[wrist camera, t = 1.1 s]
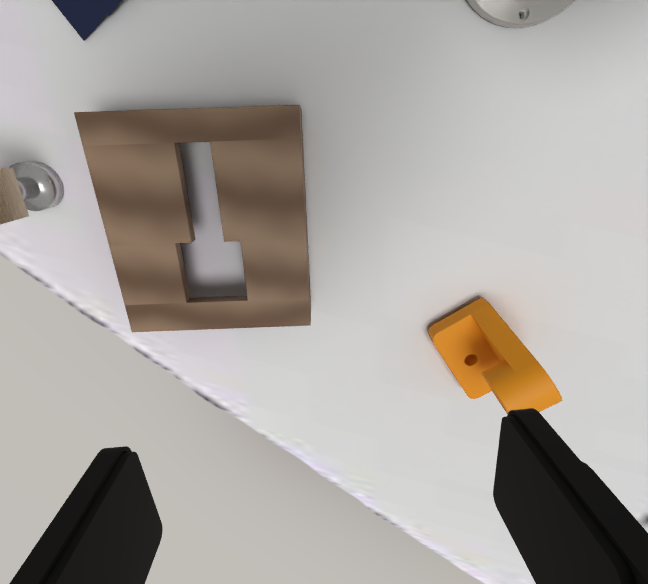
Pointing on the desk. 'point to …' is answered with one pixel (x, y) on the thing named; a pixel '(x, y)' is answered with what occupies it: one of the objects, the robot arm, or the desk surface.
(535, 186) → the desk surface
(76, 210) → the desk surface
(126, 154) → the keyhole board
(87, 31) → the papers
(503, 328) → the bracket
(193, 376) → the desk surface
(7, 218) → the peg
